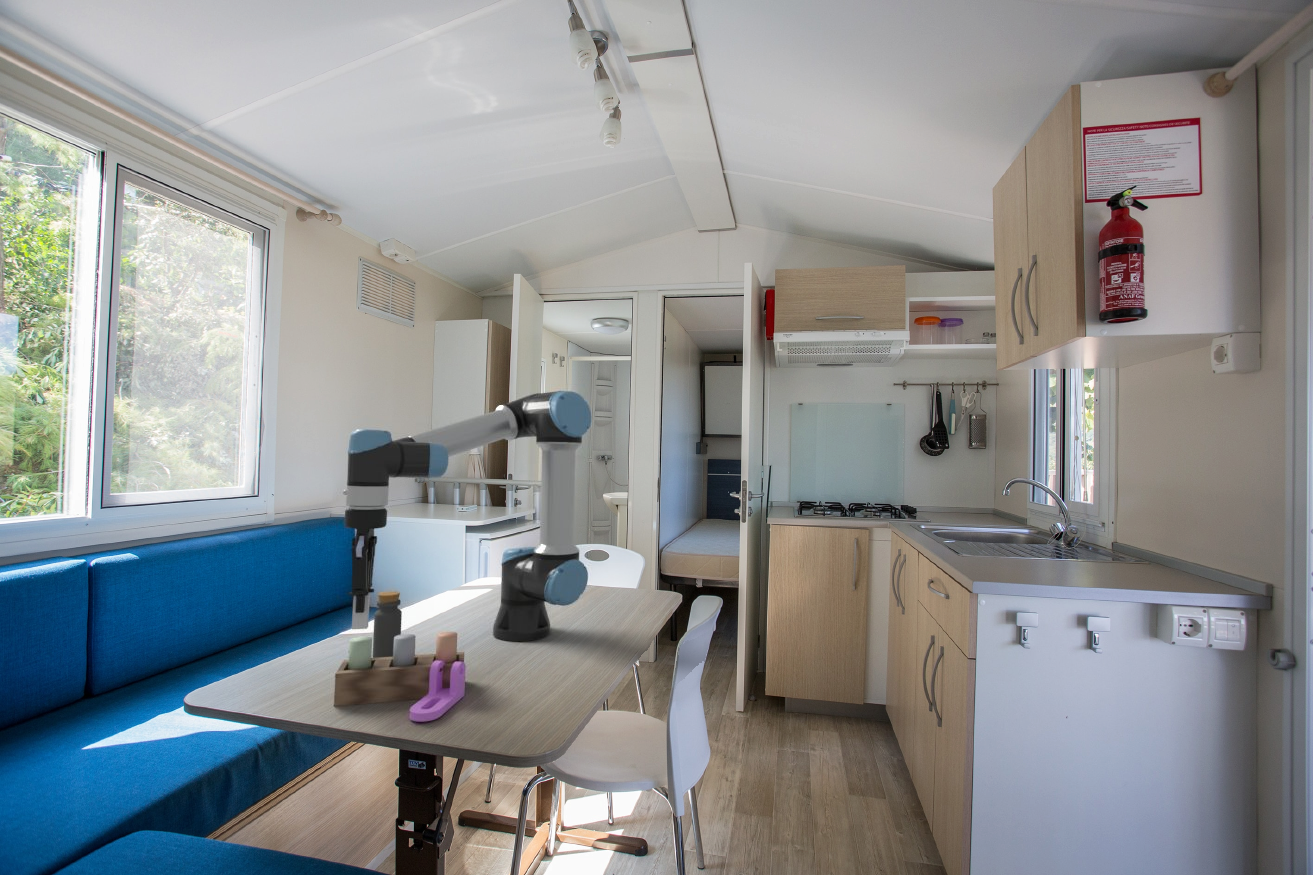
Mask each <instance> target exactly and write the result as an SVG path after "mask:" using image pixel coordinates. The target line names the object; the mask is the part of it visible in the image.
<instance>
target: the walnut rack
mask: <svg viewBox="0 0 1313 875" xmlns="http://www.w3.org/2000/svg"><path fill="white" fill-rule="evenodd" d="M434 661H436V653H428V654H425V653H424V654H415V663H414V666H401V667H393V657H380V658H373V657H371V669H359V670H348V663H349V659H343V661H342V662H341V664H340V666H339V667H338V669H337V670H336V672H335V675H334V676H335V677H334V678H335V679H334V695H333V697H334V698H333V707H339V706H351V705H353V706H354V705H364V704H365V705H366V704H374V703H376V704H377V703H387V702H388V703H389V702H396V701H397V702H398V701H410V700H421V699H422V698H424V697H425V696H426V695H427V694H428V693H429V677H430V668H431V665H432V663H433V662H434ZM456 661H457V662H464V663H465V651H458V652H457V657H456ZM453 664H454V663H445V665H443V669H442V668H440V671H439V672H441V671H442V670H443V674H442V689H446V688H450V673H451V668H452V665H453Z"/></svg>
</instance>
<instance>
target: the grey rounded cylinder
mask: <svg viewBox="0 0 1313 875" xmlns="http://www.w3.org/2000/svg"><path fill="white" fill-rule="evenodd" d="M416 636H417V635H415V634H413V633H401V635H397V636H395V637H394V649H393V667H401V666H414V663H415V655H416Z"/></svg>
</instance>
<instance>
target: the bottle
mask: <svg viewBox="0 0 1313 875" xmlns="http://www.w3.org/2000/svg"><path fill="white" fill-rule="evenodd" d="M400 594H401V593H400V591H397V590H386V591H381V592H379V593H378V594H377V596H378V600H377V601H376V607H377V608H378V610H376V611H375V613H374V617H373V618H374V619H373V620H374V621H373V636H372V658H380V657H393V649H394V637H395V636H397V635H402V619H403V618H402V613H403V612H402V610H401V609H400V608H398V607H399V606H400V605H401V599H400Z"/></svg>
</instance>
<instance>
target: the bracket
mask: <svg viewBox="0 0 1313 875" xmlns="http://www.w3.org/2000/svg"><path fill="white" fill-rule="evenodd" d="M443 665H445V663H444V661H434V662H433V663H432V665H431V668H430V677H429V693H428V694H427V695H426V696H425V697H424V698H422V699H419V700H418V701H417V702H416V703H415V704H413V705H412V706H410V707H409V719H410V720H411V721H412V722H429V721H430V722H431V721H434V720H437V719H439V718H440V717H441V716H443V715H444V714H445V713H446V712H447V711H449V709H450V708H452V707H453V706H454V705H455V704H457V703H458V702H459V701H460V700H461V699H463V697H464V696H465V695H466V694H465V691H466V689H465V688H466V663H465V661H464V662H457V661H456V662H454V664H453V665H452V668H451V673H450V688H446V689H442V674H443V670H442V671H441V672H439V671H440V668H442V669H443Z"/></svg>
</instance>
